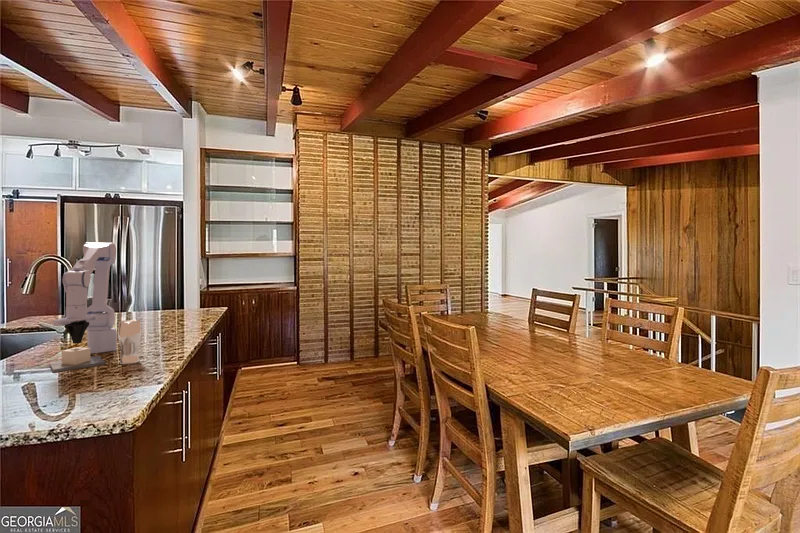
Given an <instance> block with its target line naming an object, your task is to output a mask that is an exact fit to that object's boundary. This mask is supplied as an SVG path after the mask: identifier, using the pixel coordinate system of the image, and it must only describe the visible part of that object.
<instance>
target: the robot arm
mask: <svg viewBox="0 0 800 533" xmlns="http://www.w3.org/2000/svg"><path fill="white" fill-rule="evenodd" d="M82 254H83V257H82V258H80V259H78V260H77V261H76V262H75V264H74V265H73V267H72V268H70V269H71V270H68V271H66V272H64V273H63V274H62V275H63V276H62V284H63V288H64V289H63V290H64V292H65V293H66V294H65V297H66V298H65V299H66V300H65V304H66V307H65V309H66V310H65V311H66V312H65V313H66V314H65V315H66V316H65V317H64V318H63V317H62V318H58V319H54V320H53V327H62V326H64V328H65V329H66V330H67V332H68V333H69V335H70V339H71V341H72V344H76V345H77V344H81V343H82V341H83V337H84V335H85V333H86V331H87V335H86V336H87V348H90V355H91V354H98V353H99V354H100V353H106V352H107V353H108V352H115V351H117V350H118V341H117V340H118V331H117V329H116V327H114V325H115V321H116V316H115V310H114V308H113V307H111V306H109V305H108V292H109V291H108V290H109V282H110V281H109V280H110V272H111V265H114V264H115V263H116V260H117V247H116V244H115V243H114V242H90V241H86V242H85V243H84V244H83V245H82ZM93 272H94V276H93V278H94V280H93V291H92V302H91V305H89V306H88V287H89V286H90V282H91V278H92V276H91V275H92V273H93Z"/></svg>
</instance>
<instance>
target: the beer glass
mask: <svg viewBox="0 0 800 533" xmlns="http://www.w3.org/2000/svg"><path fill="white" fill-rule="evenodd" d="M141 337H142V327H141V320H138V319H129V320H127V319H125V320H120V321H118V328H117V340H118V345H119V349H120V359H119V364H120V365H132V364H136V363H139V362H140V355H139V354H140V353H139V347H140V342H141Z"/></svg>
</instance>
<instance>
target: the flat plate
mask: <svg viewBox="0 0 800 533" xmlns="http://www.w3.org/2000/svg"><path fill="white" fill-rule="evenodd" d="M105 365H106V361H105V360H104V359H103V358H102V357H101V356H100V355H95V356H90V361H87V362H83V363H79V364H76V365H74V364H62V360H57V361H50V362H49V366H50V370H52V372H53V373H59V372H65V371H71V370H78V369H79V370H80V369H85V368H91V367H99V366H105Z"/></svg>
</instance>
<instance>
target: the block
mask: <svg viewBox="0 0 800 533" xmlns="http://www.w3.org/2000/svg"><path fill="white" fill-rule="evenodd" d="M90 357H91V354H90V348H88V347H80V346H79V347H72V348H68V349H64V350H61V361H62V364H74V365H76V364H79V363H83V362H87V361H90Z"/></svg>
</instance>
